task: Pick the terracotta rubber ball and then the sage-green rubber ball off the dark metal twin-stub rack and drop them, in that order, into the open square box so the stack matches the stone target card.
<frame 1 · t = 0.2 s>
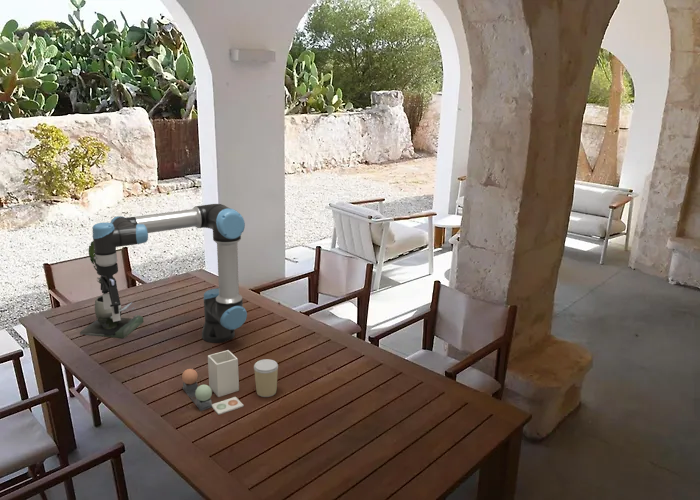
hand: (112, 314, 224), 28 cm above the table, fingers open, 13 cm apart
ball terracotta: (190, 383, 225), point 3 cm above the table, touching stub rack
coffee cup: (266, 392, 225), on the table
ball sage: (204, 399, 214), point 3 cm above the table, touching stub rack
stub rack: (197, 397, 220), on the table
target card: (227, 406, 215), on the table
open square box: (224, 388, 226), on the table
potted plant: (112, 328, 276), on the table
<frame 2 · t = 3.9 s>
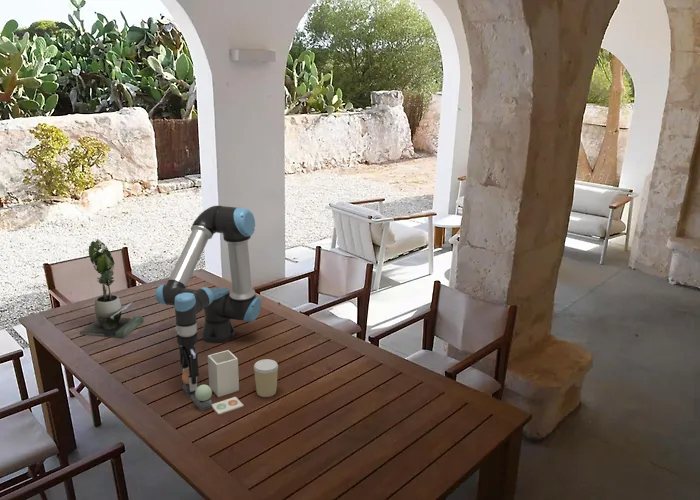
hand: (190, 386, 225), 1 cm above the table, fingers closed on ball terracotta, 6 cm apart
ball terracotta: (190, 383, 225), point 3 cm above the table, touching gripper, stub rack
everything else where it was.
when the fingers open (16 cm above the table, at t = 6.7 s): ball terracotta drops 17 cm, resting on open square box.
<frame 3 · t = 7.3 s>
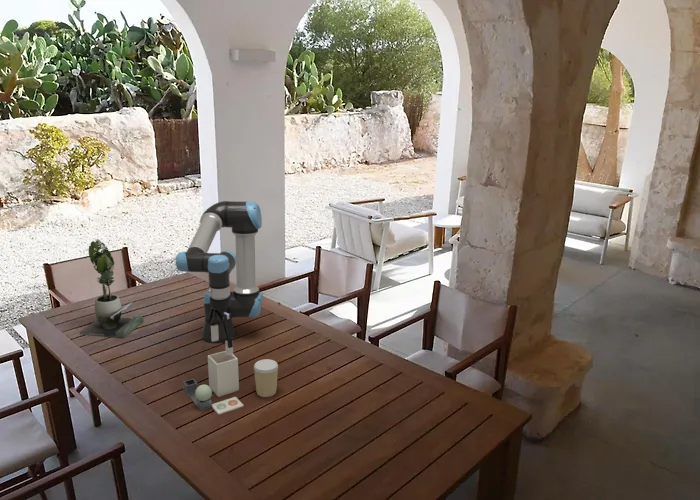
hand: (222, 347, 221), 18 cm above the table, fingers open, 13 cm apart
ball terracotta: (223, 387, 226), point 1 cm above the table, touching open square box
everything else where it was.
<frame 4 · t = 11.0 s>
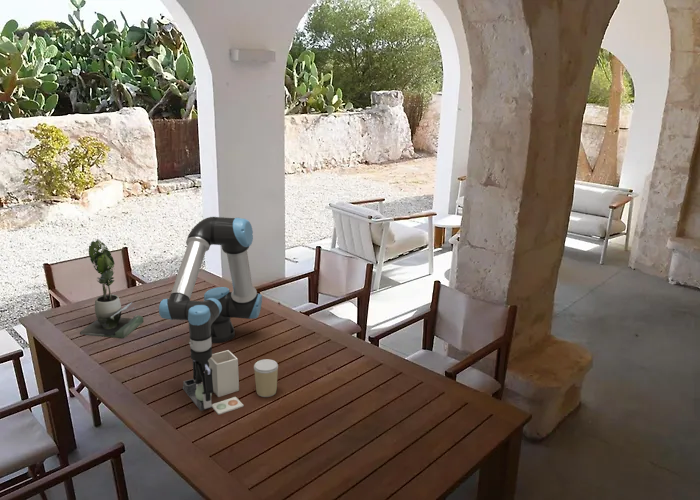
hand: (204, 402, 215), 1 cm above the table, fingers closed on ball sage, 6 cm apart
ball sage: (204, 399, 214), point 3 cm above the table, touching gripper, stub rack
everything else where it was.
when the fingers open (16 cm above the table, at t = 13.7 s): ball sage drops 11 cm and tips over, resting on ball terracotta, open square box.
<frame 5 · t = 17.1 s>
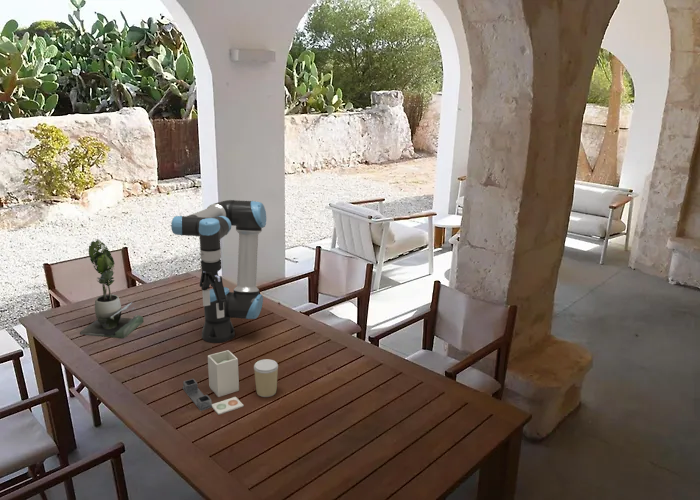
hand: (213, 311, 223), 31 cm above the table, fingers open, 13 cm apart
ball terracotta: (223, 387, 226), point 1 cm above the table, tilted 14°, touching ball sage, open square box
ball sage: (221, 371, 225), point 7 cm above the table, tilted 45°, touching ball terracotta, open square box
everything else where it was.
at the end: ball terracotta inside the target area on the open square box (0.0 cm from its centre), point 0.7 cm above the open square box's base; ball sage inside the target area on the open square box (1.2 cm from its centre), point 7.2 cm above the open square box's base; the gripper is holding nothing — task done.
